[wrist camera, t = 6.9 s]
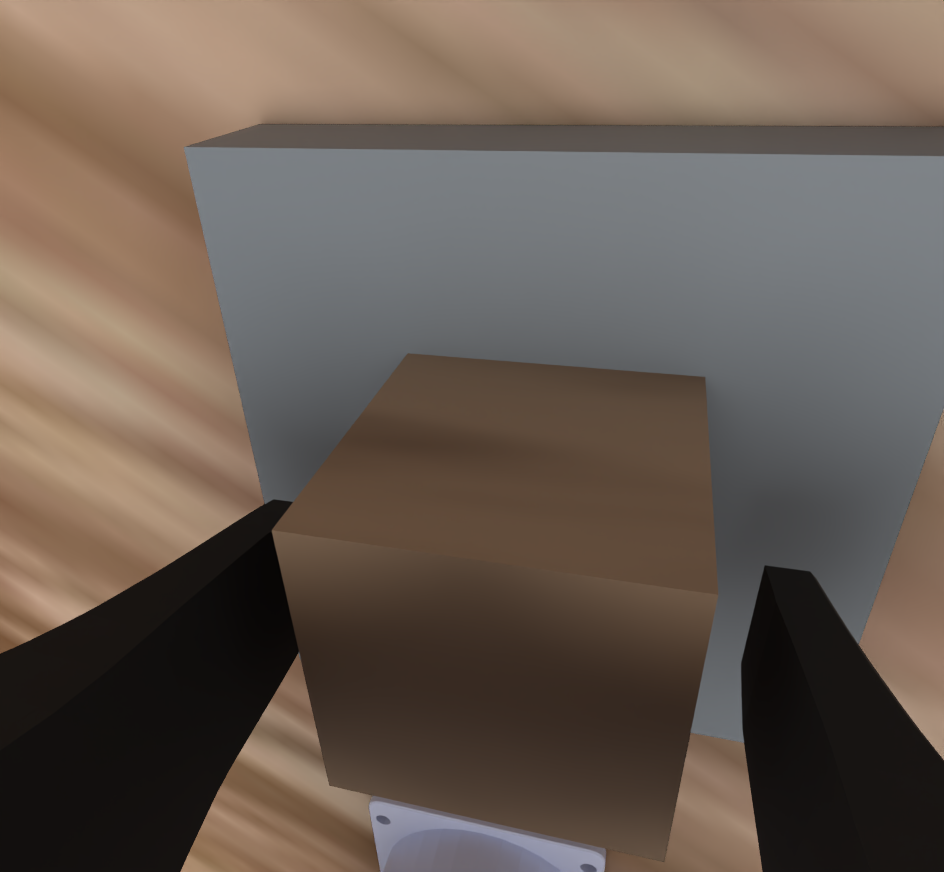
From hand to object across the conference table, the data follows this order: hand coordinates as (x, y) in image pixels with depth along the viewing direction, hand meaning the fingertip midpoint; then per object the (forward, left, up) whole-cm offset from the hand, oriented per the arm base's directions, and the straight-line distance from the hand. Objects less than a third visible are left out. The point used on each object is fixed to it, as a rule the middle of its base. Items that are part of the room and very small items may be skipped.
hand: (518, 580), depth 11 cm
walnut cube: (0, 0, -2) cm, 2 cm away
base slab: (0, 0, -5) cm, 5 cm away
